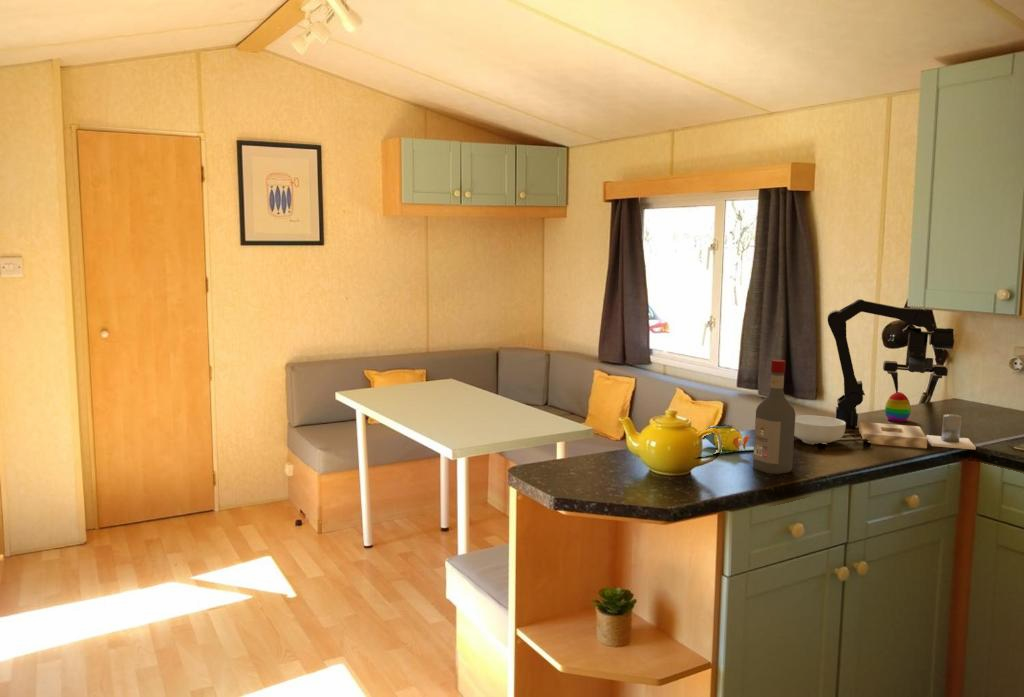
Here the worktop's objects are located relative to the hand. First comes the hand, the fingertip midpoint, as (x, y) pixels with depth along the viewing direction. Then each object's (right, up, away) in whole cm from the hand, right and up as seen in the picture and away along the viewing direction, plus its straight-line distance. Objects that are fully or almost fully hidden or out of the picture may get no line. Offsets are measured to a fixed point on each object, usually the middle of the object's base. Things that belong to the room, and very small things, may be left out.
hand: (912, 394), depth 279 cm
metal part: (+6, -14, -13) cm, 20 cm away
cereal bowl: (-37, -14, -14) cm, 42 cm away
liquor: (-60, -18, -46) cm, 78 cm away
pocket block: (-11, -14, -9) cm, 20 cm away
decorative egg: (+4, -10, +20) cm, 23 cm away
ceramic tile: (+6, -15, -13) cm, 21 cm away
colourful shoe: (-68, -16, -27) cm, 75 cm away
